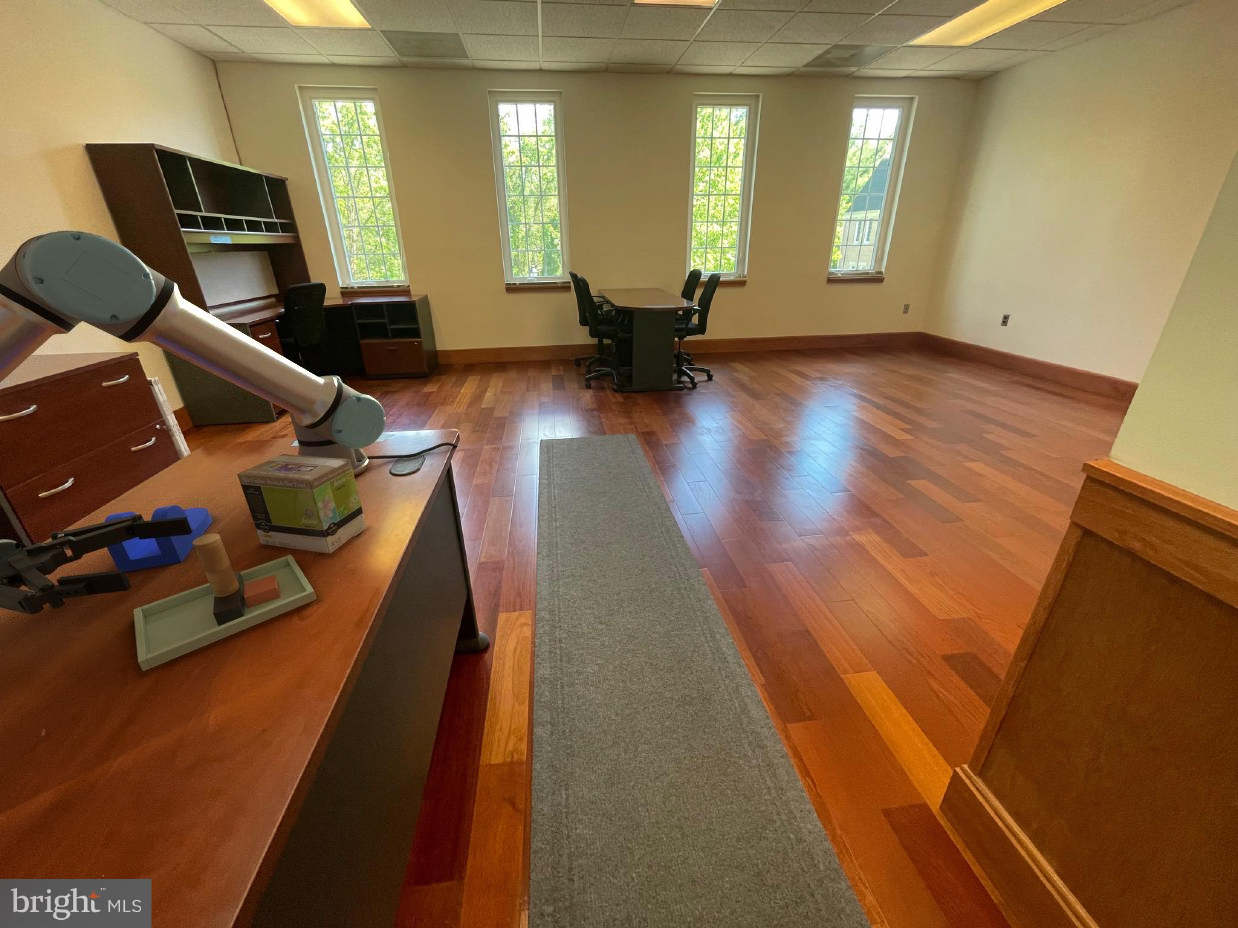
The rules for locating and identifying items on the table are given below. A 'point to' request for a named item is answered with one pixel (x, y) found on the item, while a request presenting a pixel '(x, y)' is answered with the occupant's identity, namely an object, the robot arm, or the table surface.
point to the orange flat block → (261, 591)
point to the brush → (221, 579)
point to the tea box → (303, 502)
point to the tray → (211, 614)
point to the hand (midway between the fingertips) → (159, 550)
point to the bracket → (159, 540)
